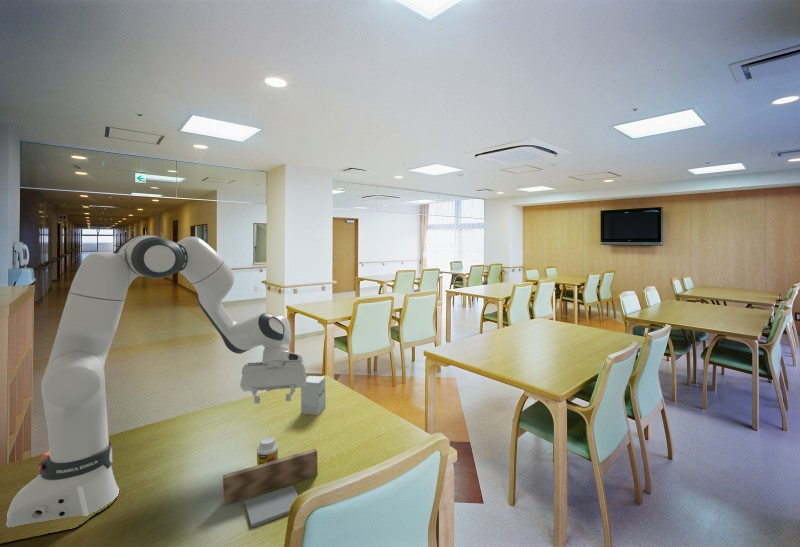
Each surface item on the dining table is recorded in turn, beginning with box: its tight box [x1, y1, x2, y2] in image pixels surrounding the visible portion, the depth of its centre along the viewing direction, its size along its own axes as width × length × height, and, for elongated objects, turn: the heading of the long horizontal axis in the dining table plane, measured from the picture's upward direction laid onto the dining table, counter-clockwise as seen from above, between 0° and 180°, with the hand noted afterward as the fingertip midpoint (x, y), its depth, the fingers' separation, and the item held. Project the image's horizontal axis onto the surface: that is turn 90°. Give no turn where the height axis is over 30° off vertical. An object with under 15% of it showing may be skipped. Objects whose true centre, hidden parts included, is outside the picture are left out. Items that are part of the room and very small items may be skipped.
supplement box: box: [300, 375, 327, 416], centre depth 145 cm, size 7×7×13 cm
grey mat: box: [244, 485, 299, 528], centre depth 92 cm, size 12×9×1 cm
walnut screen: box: [222, 448, 319, 506], centre depth 99 cm, size 24×2×7 cm, turn 121°
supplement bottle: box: [256, 436, 279, 466], centre depth 105 cm, size 6×6×10 cm
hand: (272, 401), depth 116 cm, fingers open, 8 cm apart
